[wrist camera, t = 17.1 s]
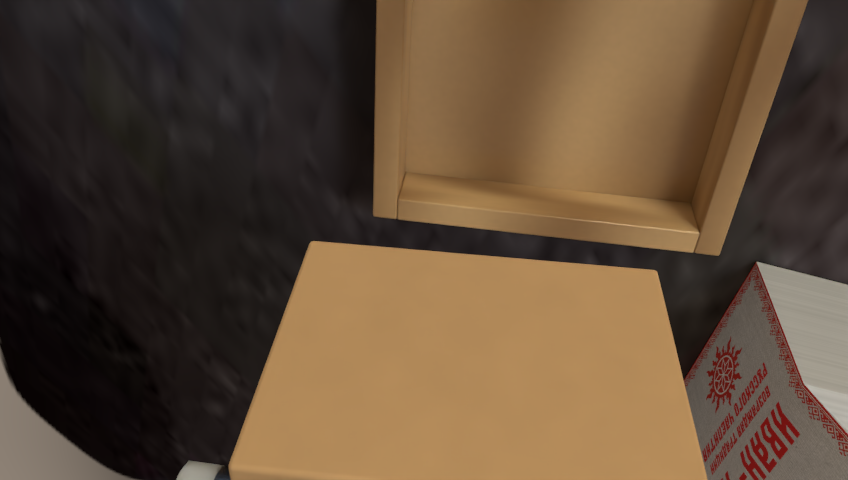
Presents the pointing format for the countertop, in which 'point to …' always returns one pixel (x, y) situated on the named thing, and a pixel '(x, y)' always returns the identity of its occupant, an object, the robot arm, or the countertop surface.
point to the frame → (575, 114)
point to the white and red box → (775, 381)
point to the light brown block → (468, 373)
